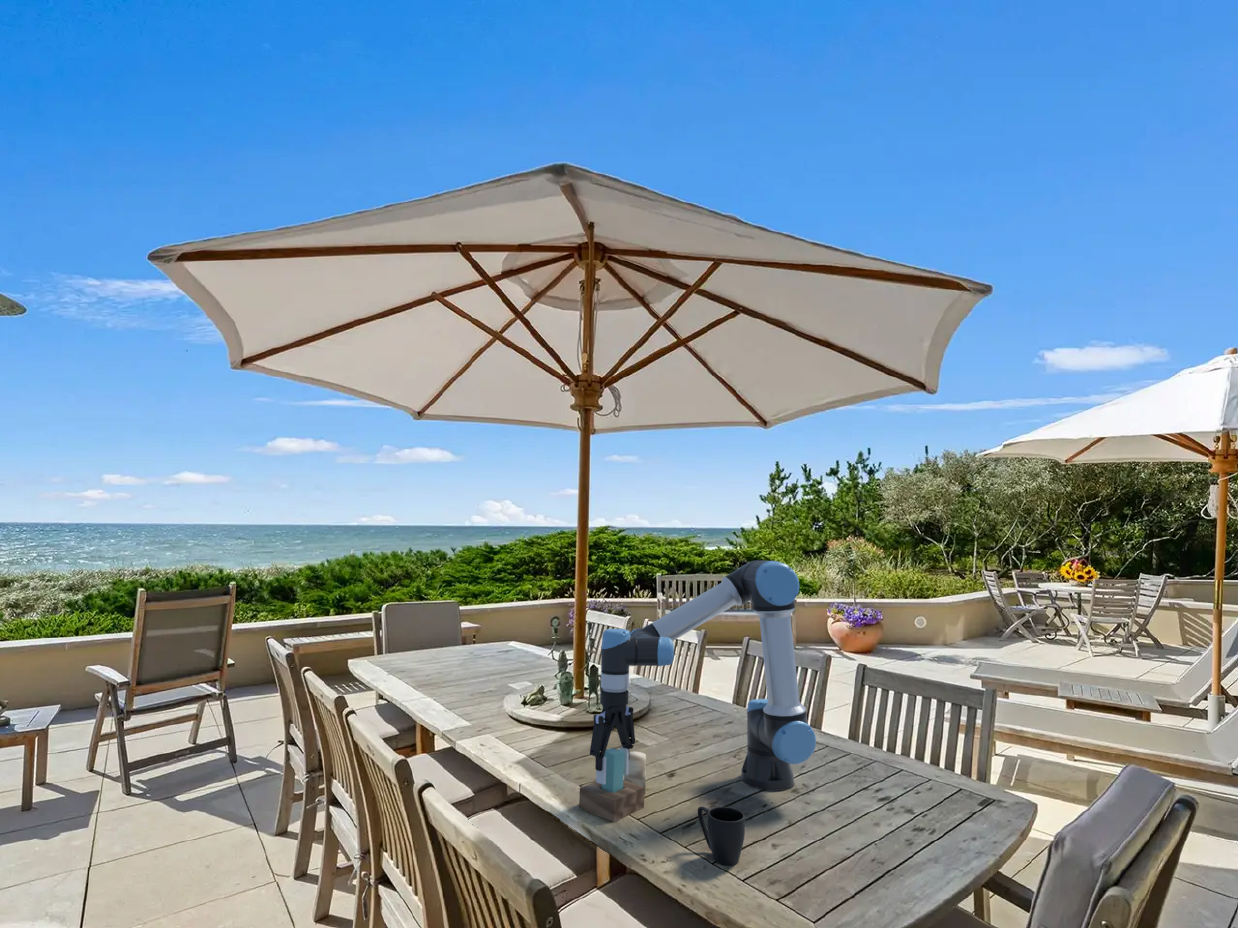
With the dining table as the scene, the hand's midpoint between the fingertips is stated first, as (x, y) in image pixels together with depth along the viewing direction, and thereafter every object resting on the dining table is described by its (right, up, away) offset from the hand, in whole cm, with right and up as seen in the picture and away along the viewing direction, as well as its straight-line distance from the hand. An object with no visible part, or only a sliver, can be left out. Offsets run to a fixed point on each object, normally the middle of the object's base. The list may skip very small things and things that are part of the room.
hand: (612, 778), depth 167 cm
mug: (+24, -5, -25) cm, 35 cm away
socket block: (0, -7, -1) cm, 7 cm away
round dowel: (+6, -9, +9) cm, 14 cm away
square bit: (0, -7, -1) cm, 7 cm away
